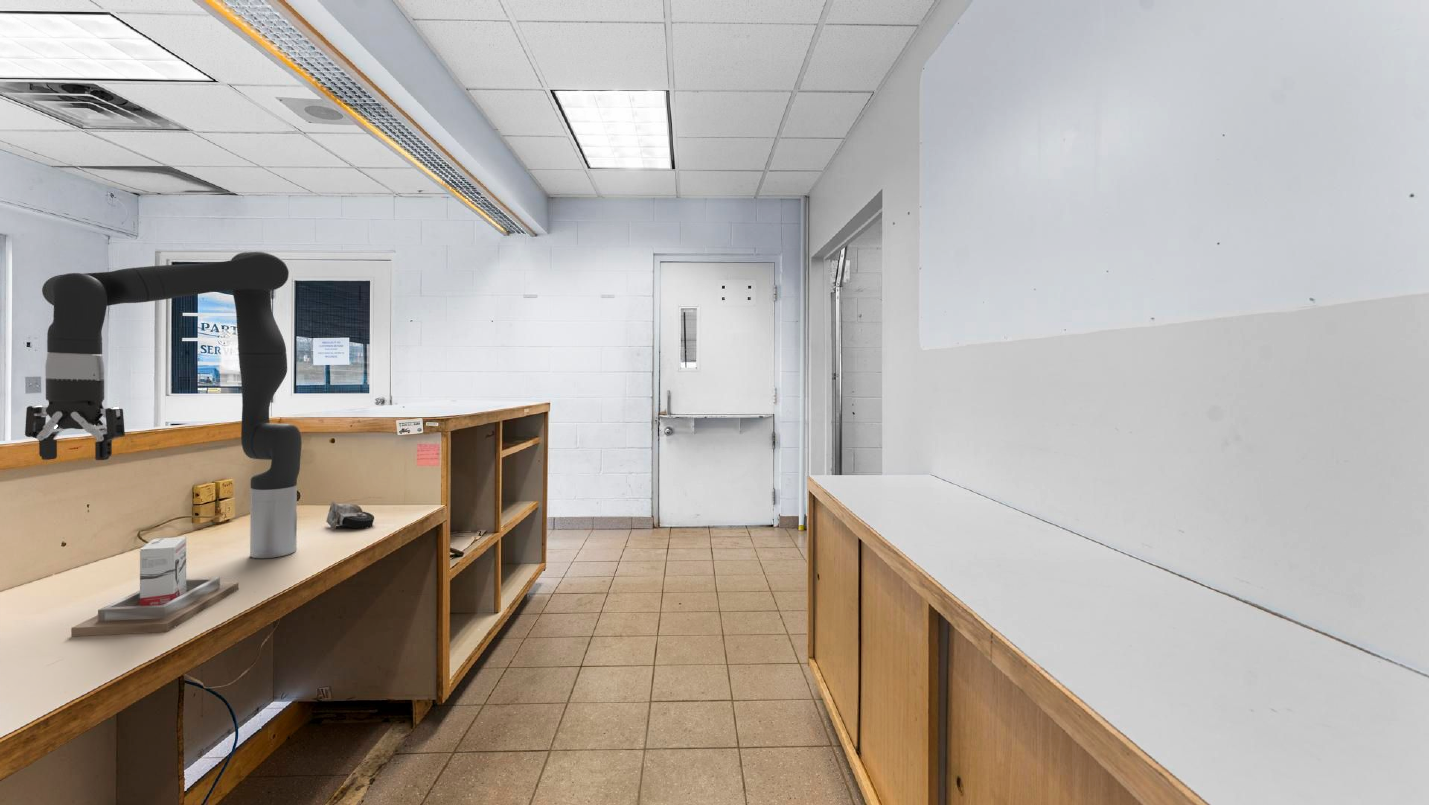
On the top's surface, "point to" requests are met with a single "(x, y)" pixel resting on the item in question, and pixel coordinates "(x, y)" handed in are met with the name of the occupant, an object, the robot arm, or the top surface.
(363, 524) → the caster wheel
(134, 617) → the locator board
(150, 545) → the ink box
